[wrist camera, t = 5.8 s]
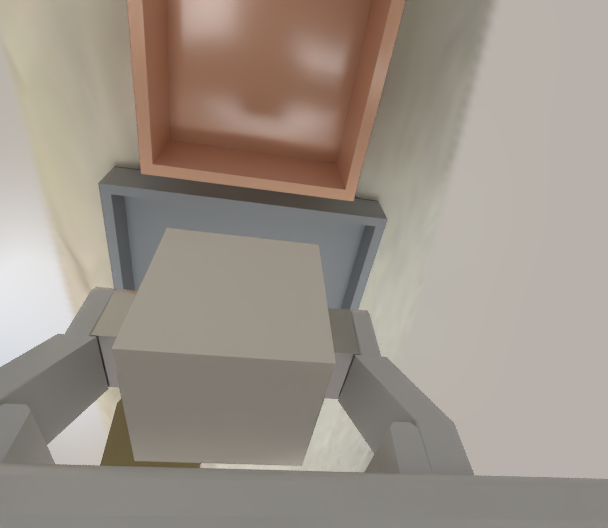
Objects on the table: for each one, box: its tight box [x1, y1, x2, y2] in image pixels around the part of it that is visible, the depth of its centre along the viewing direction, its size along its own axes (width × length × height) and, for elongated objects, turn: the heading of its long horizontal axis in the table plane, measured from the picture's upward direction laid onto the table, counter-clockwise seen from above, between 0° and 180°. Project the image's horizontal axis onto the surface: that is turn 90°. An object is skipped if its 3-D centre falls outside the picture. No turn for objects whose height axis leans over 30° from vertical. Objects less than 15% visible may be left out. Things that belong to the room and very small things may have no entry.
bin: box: [127, 0, 406, 201], centre depth 19 cm, size 11×11×5 cm
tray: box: [99, 167, 387, 310], centre depth 28 cm, size 15×17×3 cm
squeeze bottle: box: [100, 398, 201, 468], centre depth 28 cm, size 8×8×18 cm
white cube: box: [112, 228, 336, 466], centre depth 10 cm, size 4×4×4 cm
